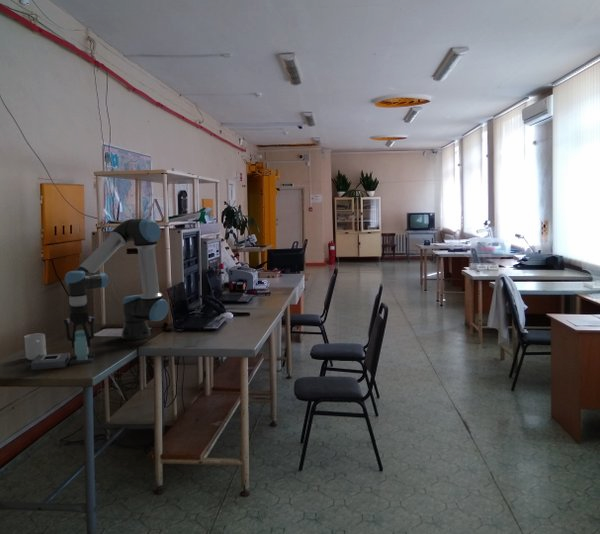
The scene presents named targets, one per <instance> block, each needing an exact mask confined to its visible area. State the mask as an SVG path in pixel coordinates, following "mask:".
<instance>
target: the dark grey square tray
mask: <svg viewBox="0 0 600 534" xmlns="http://www.w3.org/2000/svg"><path fill="white" fill-rule="evenodd" d="M87 356H88V359H87V360H77V355H72V356H71V359H70V360H69V362H68V365H79V364H91V363H93V362H94V360H95V357H96V354H94V353H92V354H87Z"/></svg>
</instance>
